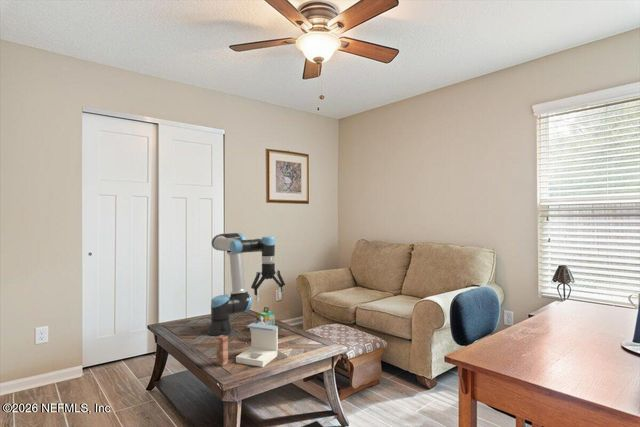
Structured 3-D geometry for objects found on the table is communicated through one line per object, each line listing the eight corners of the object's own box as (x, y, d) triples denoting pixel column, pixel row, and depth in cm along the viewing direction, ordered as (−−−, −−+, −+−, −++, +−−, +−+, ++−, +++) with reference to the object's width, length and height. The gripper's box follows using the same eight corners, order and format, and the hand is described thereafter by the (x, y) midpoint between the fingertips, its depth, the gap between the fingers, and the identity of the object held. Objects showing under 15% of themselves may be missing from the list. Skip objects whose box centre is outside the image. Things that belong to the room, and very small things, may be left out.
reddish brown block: (216, 364, 185) (216, 337, 185) (221, 361, 188) (221, 335, 188) (223, 366, 183) (223, 338, 183) (228, 363, 187) (227, 336, 187)
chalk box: (255, 329, 240) (255, 307, 240) (266, 326, 247) (266, 305, 247) (264, 332, 234) (264, 310, 234) (275, 329, 241) (275, 307, 241)
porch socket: (235, 362, 187) (235, 331, 187) (252, 351, 202) (252, 322, 202) (262, 367, 182) (262, 335, 182) (277, 355, 196) (277, 326, 196)
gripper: (249, 265, 201) (249, 303, 201) (290, 262, 214) (290, 297, 214) (245, 263, 208) (245, 300, 208) (285, 260, 220) (285, 295, 220)
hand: (268, 299), depth 211 cm, fingers open, 13 cm apart
